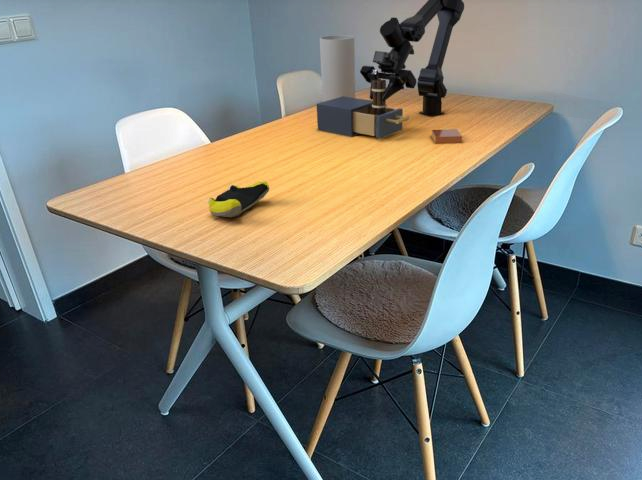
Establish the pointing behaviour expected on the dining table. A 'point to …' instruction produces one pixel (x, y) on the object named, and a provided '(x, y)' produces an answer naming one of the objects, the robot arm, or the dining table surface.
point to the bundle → (379, 97)
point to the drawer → (378, 122)
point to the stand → (446, 136)
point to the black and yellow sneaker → (237, 199)
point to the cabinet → (339, 114)
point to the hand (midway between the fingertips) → (376, 99)
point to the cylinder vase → (337, 66)
